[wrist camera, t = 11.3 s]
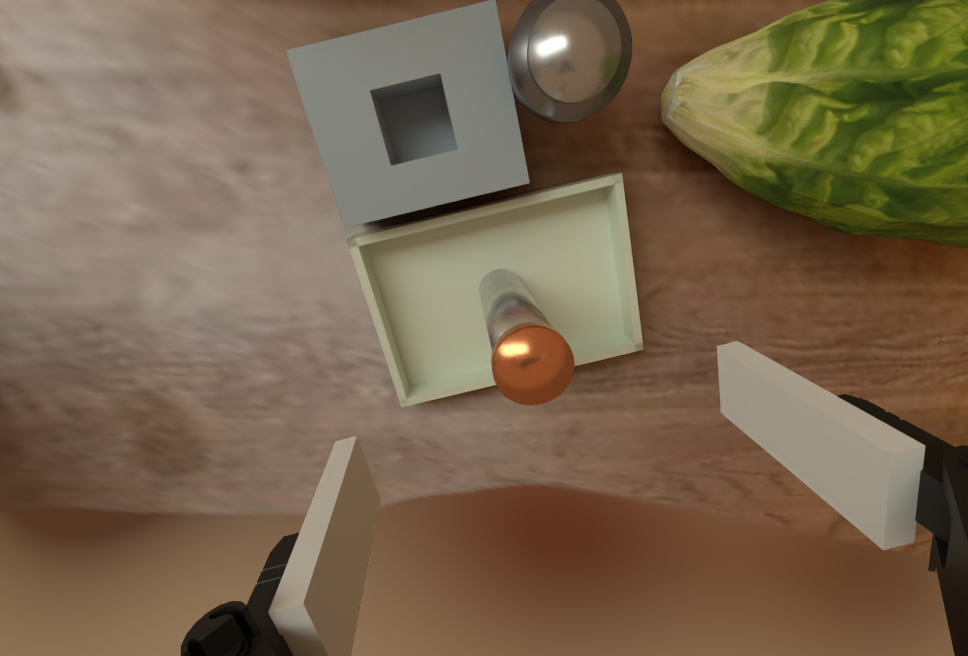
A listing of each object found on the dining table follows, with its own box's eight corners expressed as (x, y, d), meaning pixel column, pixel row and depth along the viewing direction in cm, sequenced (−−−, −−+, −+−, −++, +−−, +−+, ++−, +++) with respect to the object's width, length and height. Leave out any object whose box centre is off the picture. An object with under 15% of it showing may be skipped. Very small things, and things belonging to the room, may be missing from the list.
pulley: (508, 142, 32) (526, 131, 24) (488, 41, 30) (500, -7, 22) (596, 121, 32) (642, 103, 24) (582, 18, 30) (628, -39, 22)
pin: (482, 319, 36) (501, 413, 22) (471, 272, 35) (484, 339, 20) (529, 307, 36) (580, 394, 22) (520, 261, 35) (567, 319, 20)
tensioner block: (359, 220, 33) (343, 228, 29) (312, 70, 30) (286, 50, 25) (518, 182, 33) (529, 183, 29) (488, 26, 30) (495, -2, 25)
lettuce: (658, 26, 35) (729, -114, 22) (994, 58, 32) (1300, -77, 19) (622, 215, 37) (666, 192, 24) (933, 257, 35) (1169, 257, 22)
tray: (405, 391, 38) (401, 407, 35) (355, 234, 34) (346, 239, 31) (630, 337, 38) (643, 349, 35) (608, 173, 33) (622, 173, 31)
